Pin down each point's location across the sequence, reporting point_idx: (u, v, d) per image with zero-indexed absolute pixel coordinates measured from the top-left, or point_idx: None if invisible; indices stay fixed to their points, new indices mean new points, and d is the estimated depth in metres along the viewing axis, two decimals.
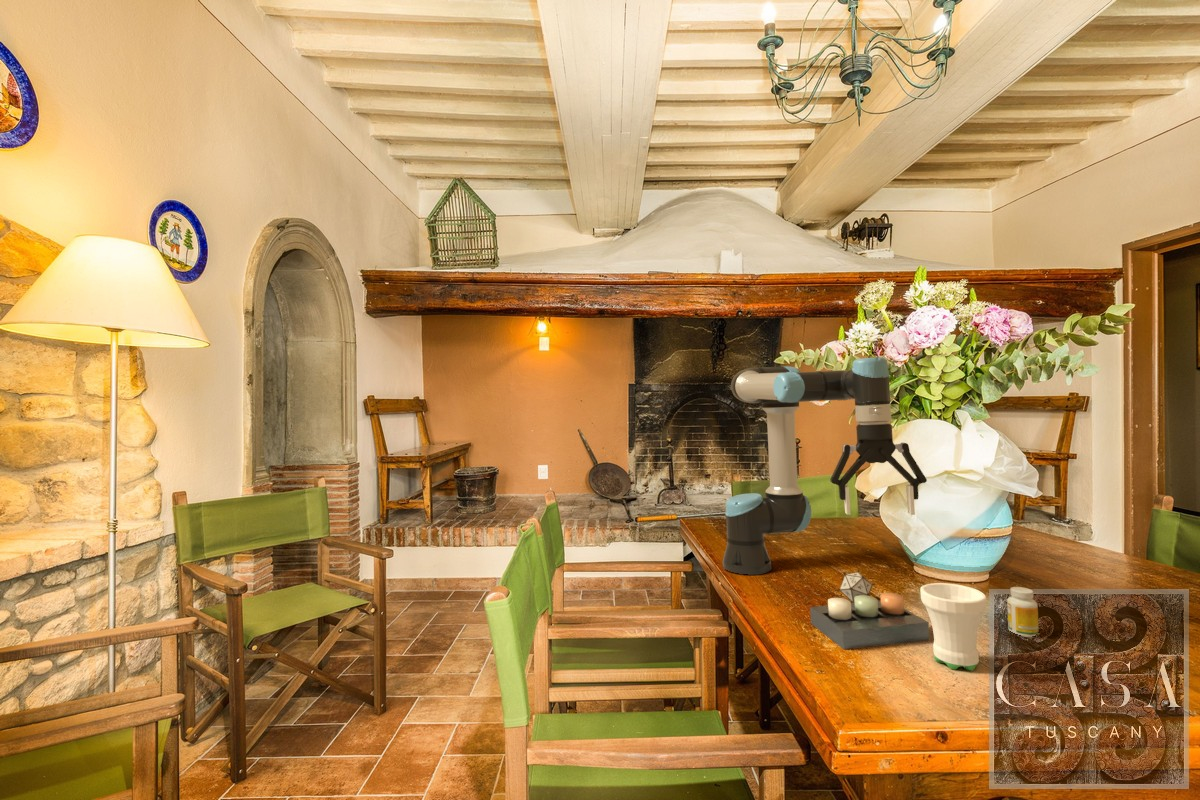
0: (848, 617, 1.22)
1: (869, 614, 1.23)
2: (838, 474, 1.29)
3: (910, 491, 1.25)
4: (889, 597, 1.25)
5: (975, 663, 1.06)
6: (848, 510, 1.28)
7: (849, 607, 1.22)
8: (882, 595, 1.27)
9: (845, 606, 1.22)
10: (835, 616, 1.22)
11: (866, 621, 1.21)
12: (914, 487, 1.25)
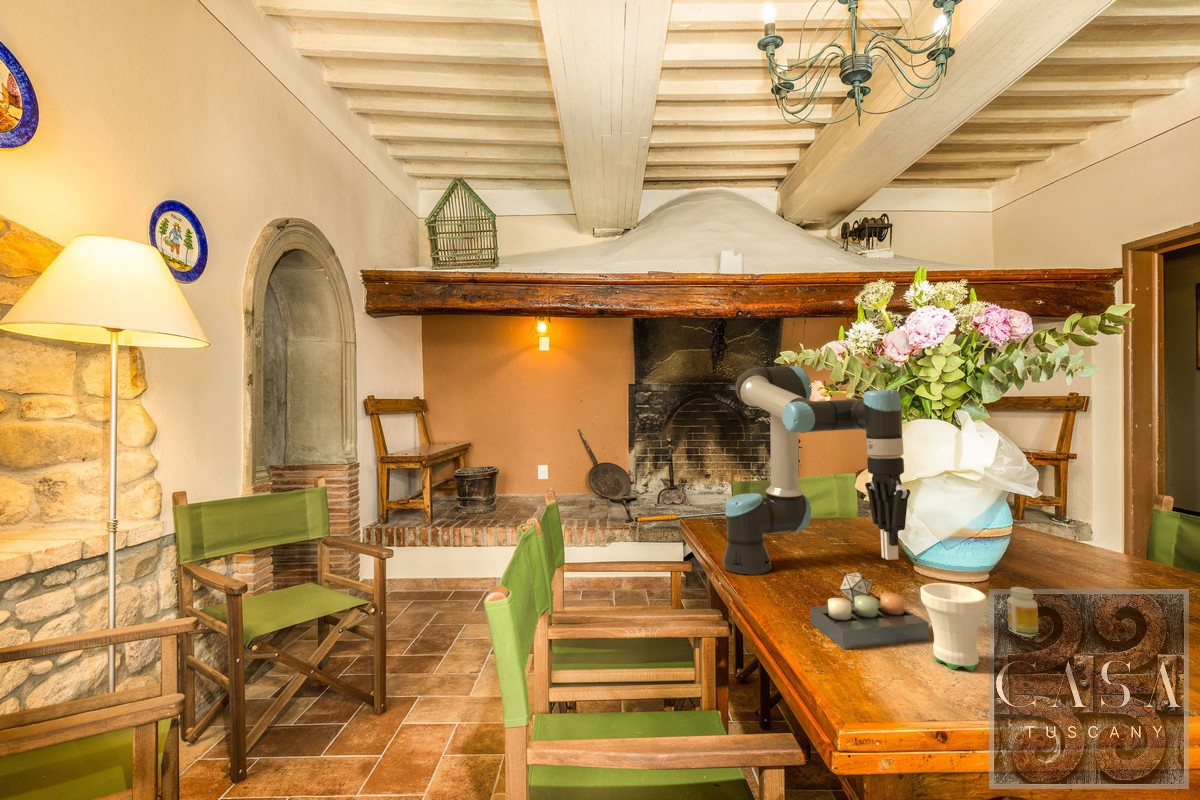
0: (848, 617, 1.22)
1: (869, 614, 1.23)
2: (873, 513, 1.29)
3: (885, 536, 1.25)
4: (889, 597, 1.25)
5: (975, 663, 1.06)
6: (882, 553, 1.26)
7: (849, 607, 1.22)
8: (882, 595, 1.27)
9: (845, 606, 1.22)
10: (835, 616, 1.22)
11: (866, 621, 1.21)
12: (890, 533, 1.24)
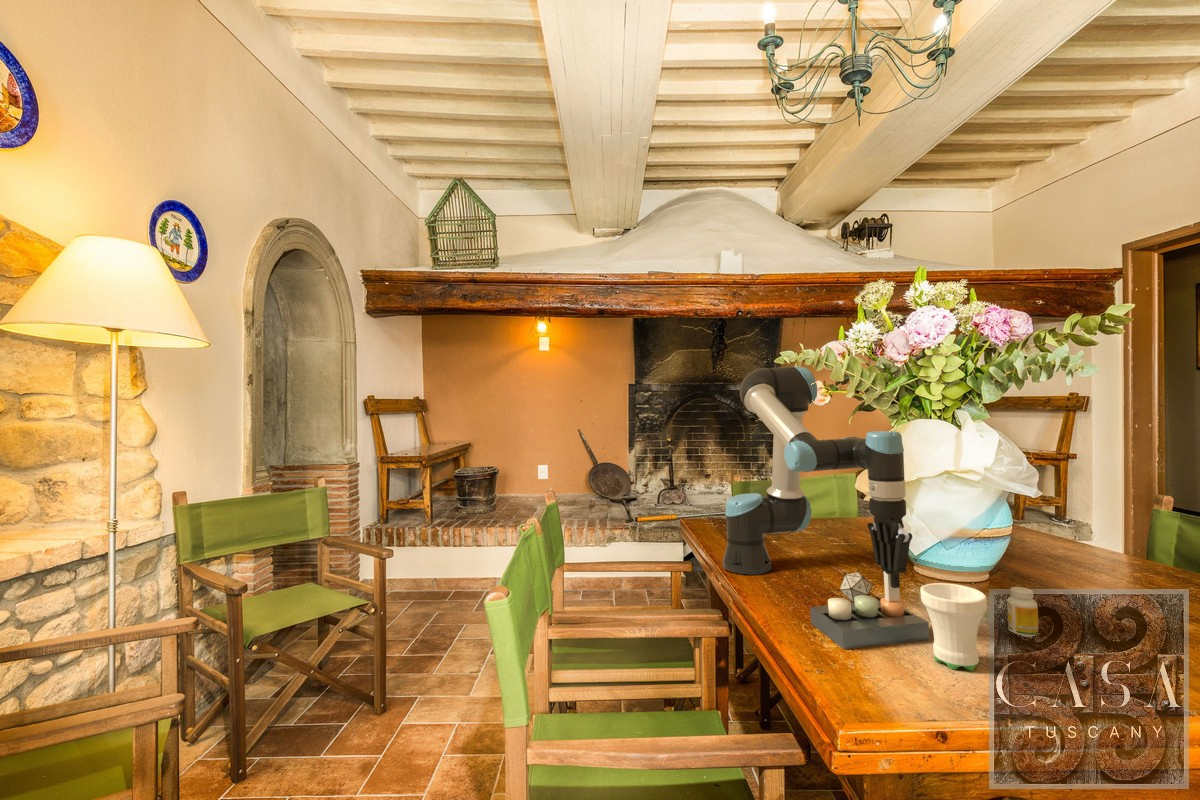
0: (848, 617, 1.22)
1: (869, 614, 1.23)
2: (876, 554, 1.29)
3: (886, 577, 1.25)
4: None
5: (975, 663, 1.06)
6: (885, 595, 1.26)
7: (849, 607, 1.22)
8: (882, 599, 1.27)
9: (845, 606, 1.22)
10: (835, 616, 1.22)
11: (866, 621, 1.21)
12: (891, 575, 1.24)
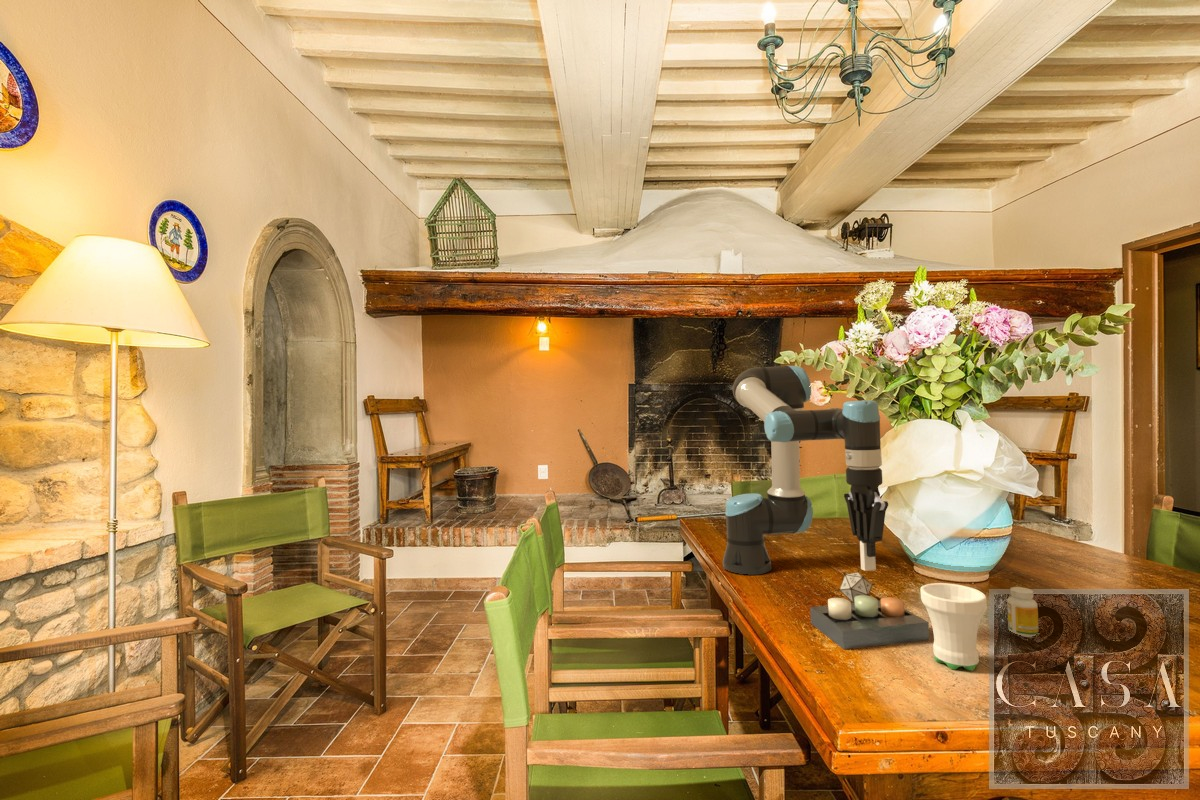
0: (848, 617, 1.22)
1: (869, 614, 1.23)
2: (852, 524, 1.28)
3: (862, 547, 1.25)
4: (889, 601, 1.25)
5: (975, 663, 1.06)
6: (861, 565, 1.25)
7: (849, 607, 1.22)
8: (882, 599, 1.27)
9: (845, 606, 1.22)
10: (835, 616, 1.22)
11: (866, 621, 1.21)
12: (867, 544, 1.24)
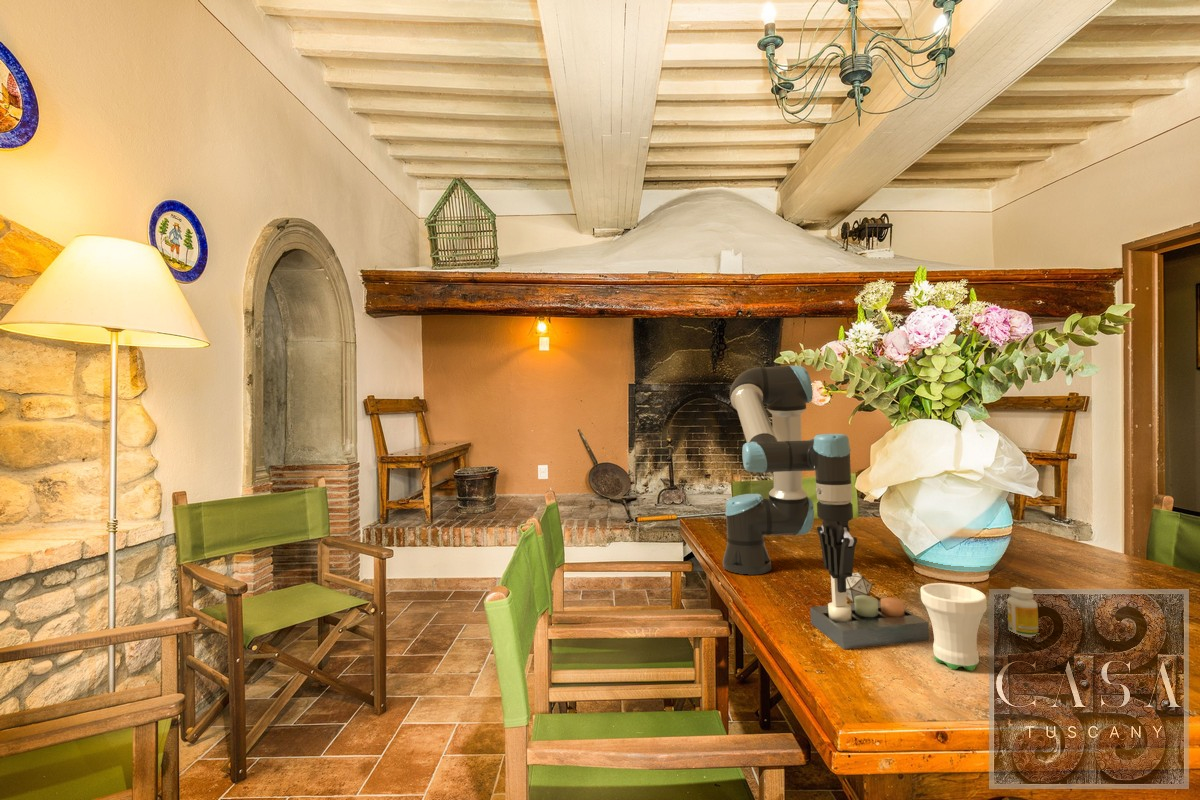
0: None
1: (869, 614, 1.23)
2: (824, 558, 1.27)
3: None
4: (889, 601, 1.25)
5: (975, 663, 1.06)
6: (832, 600, 1.24)
7: (849, 611, 1.22)
8: (882, 599, 1.27)
9: (846, 610, 1.22)
10: (835, 620, 1.22)
11: (866, 621, 1.21)
12: (838, 579, 1.23)
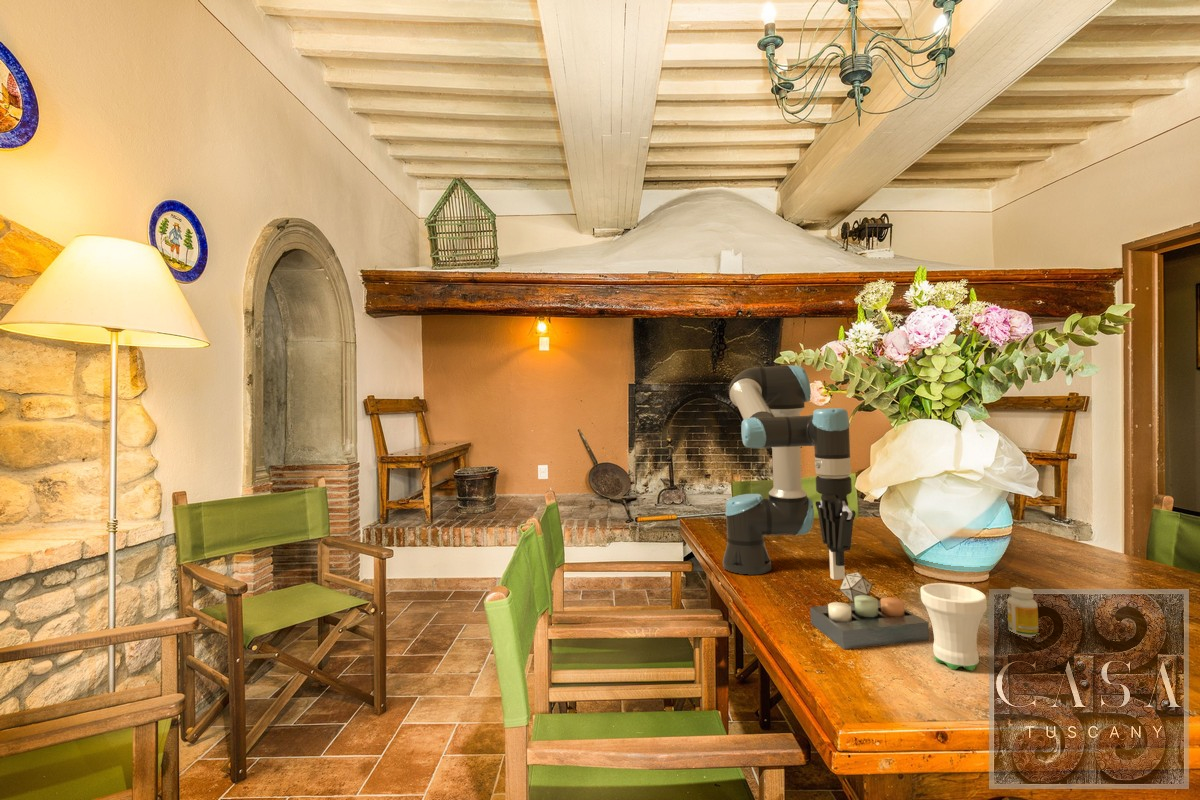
0: None
1: (869, 614, 1.23)
2: (822, 532, 1.28)
3: None
4: (889, 601, 1.25)
5: (975, 663, 1.06)
6: (830, 573, 1.25)
7: (849, 612, 1.22)
8: (882, 599, 1.27)
9: (846, 610, 1.22)
10: (835, 621, 1.22)
11: (866, 621, 1.21)
12: (836, 553, 1.23)
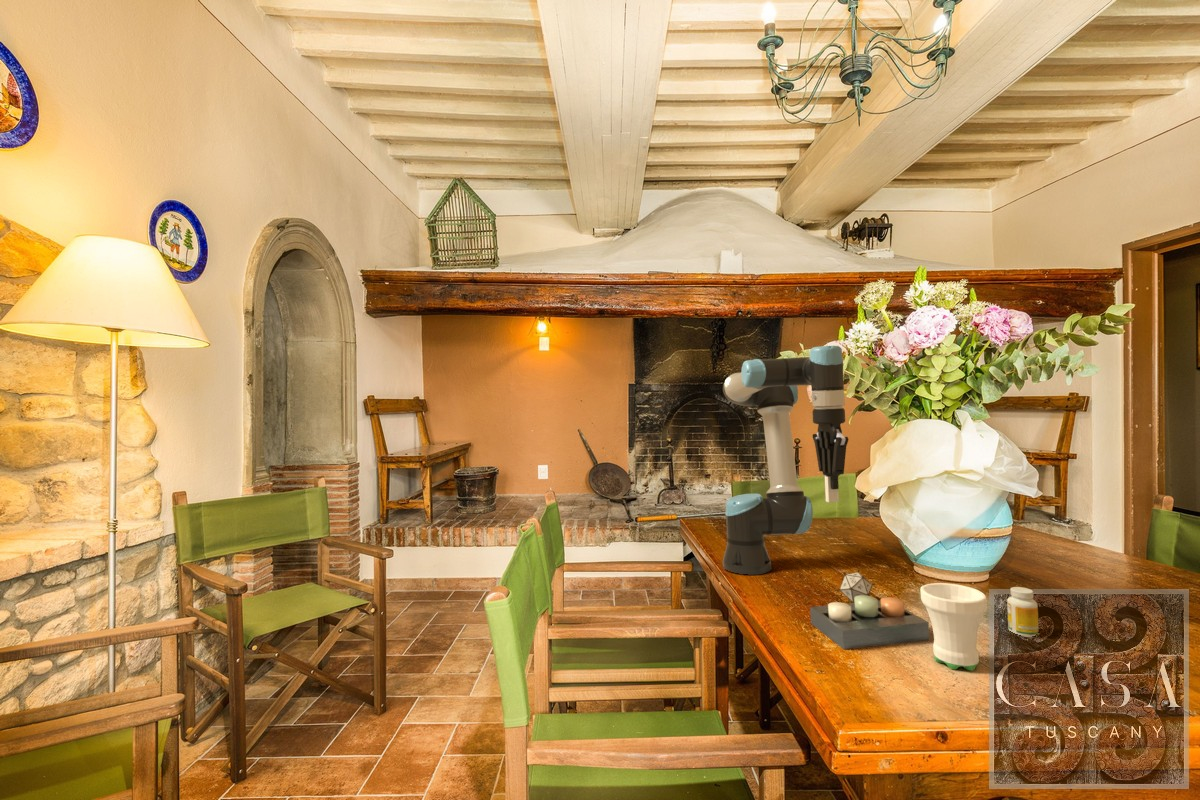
0: None
1: (869, 614, 1.23)
2: (819, 461, 1.39)
3: None
4: (889, 601, 1.25)
5: (975, 663, 1.06)
6: (826, 497, 1.37)
7: (849, 612, 1.22)
8: (882, 599, 1.27)
9: (846, 610, 1.22)
10: (835, 621, 1.22)
11: (866, 621, 1.21)
12: (831, 478, 1.35)
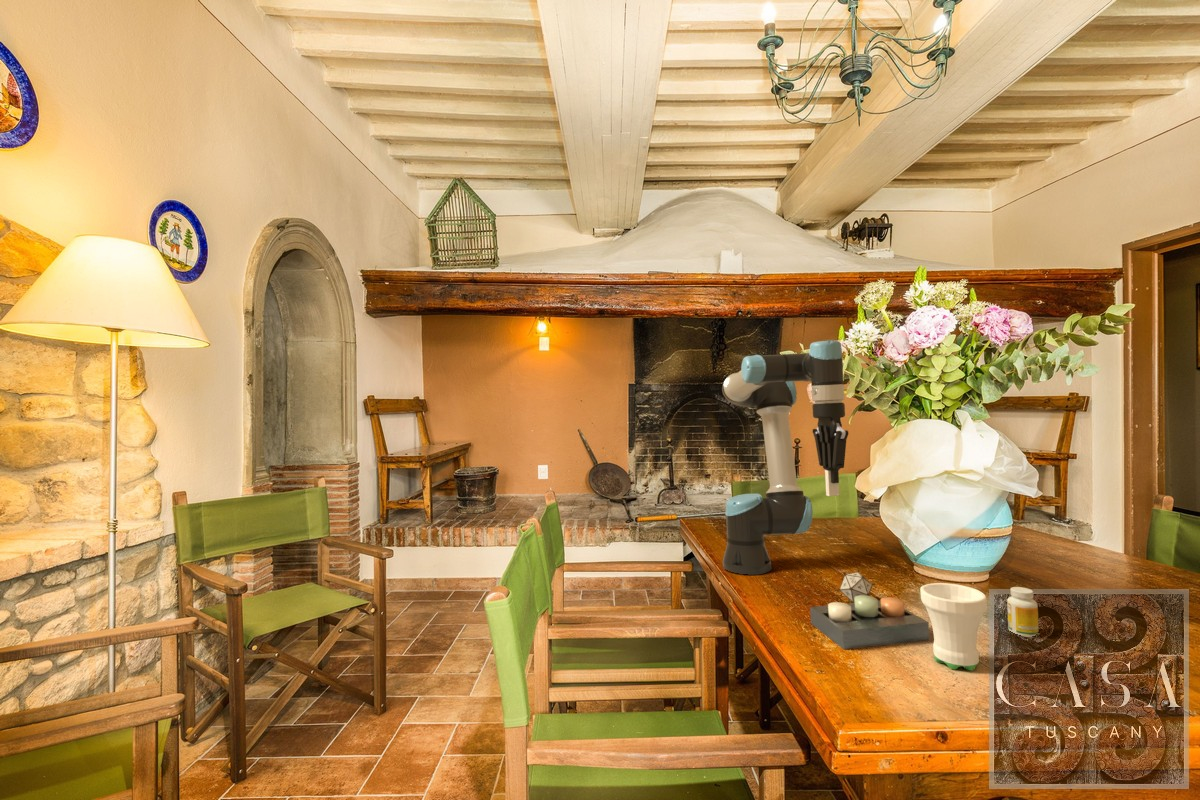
0: None
1: (869, 614, 1.23)
2: (819, 456, 1.40)
3: None
4: (889, 601, 1.25)
5: (975, 663, 1.06)
6: (826, 491, 1.37)
7: (849, 612, 1.22)
8: (882, 599, 1.27)
9: (846, 610, 1.22)
10: (835, 621, 1.22)
11: (866, 621, 1.21)
12: (831, 472, 1.36)
